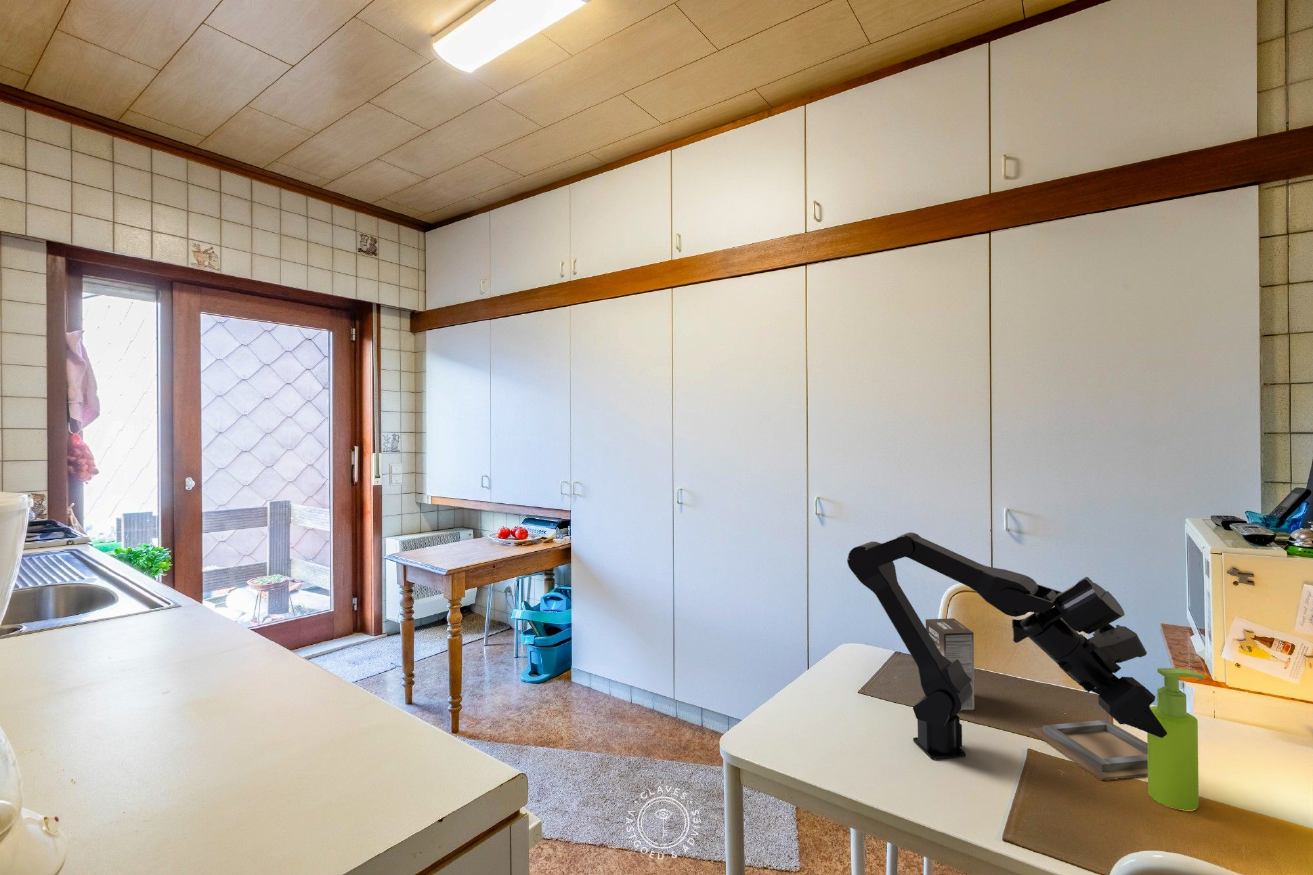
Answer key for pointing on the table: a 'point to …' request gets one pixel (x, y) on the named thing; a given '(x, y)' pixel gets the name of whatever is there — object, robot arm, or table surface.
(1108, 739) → the grey rectangular tray
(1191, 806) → the soap dispenser
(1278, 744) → the table surface
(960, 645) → the coffee box
